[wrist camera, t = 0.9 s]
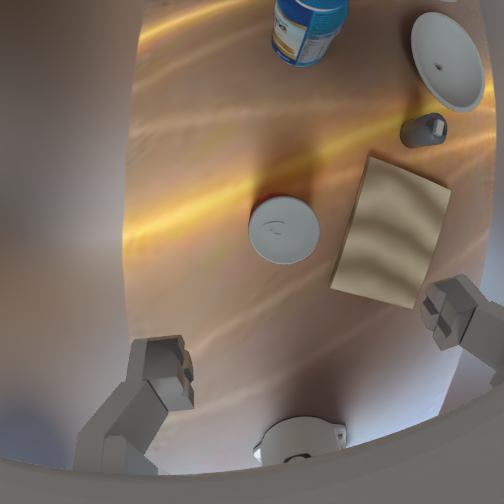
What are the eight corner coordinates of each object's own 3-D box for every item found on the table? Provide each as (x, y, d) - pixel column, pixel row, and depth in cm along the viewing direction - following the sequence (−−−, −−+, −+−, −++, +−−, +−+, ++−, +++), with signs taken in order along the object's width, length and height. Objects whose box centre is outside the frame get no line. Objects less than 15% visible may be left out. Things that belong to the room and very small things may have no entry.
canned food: (245, 197, 46) (242, 202, 35) (301, 188, 45) (315, 190, 35) (254, 250, 47) (254, 270, 36) (309, 240, 47) (324, 258, 36)
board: (408, 305, 49) (412, 309, 48) (328, 284, 48) (330, 288, 47) (446, 190, 45) (451, 190, 43) (367, 157, 44) (370, 156, 43)
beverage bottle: (320, 75, 42) (361, 14, 22) (264, 60, 41) (270, -11, 22) (331, 30, 40) (370, -41, 20) (277, 16, 39) (289, -64, 20)
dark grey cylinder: (422, 126, 43) (453, 118, 34) (417, 151, 44) (447, 147, 35) (403, 117, 43) (431, 107, 34) (397, 143, 44) (426, 137, 35)
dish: (390, 15, 39) (402, 3, 34) (458, 32, 38) (472, 23, 33) (405, 111, 42) (420, 105, 37) (474, 122, 42) (491, 118, 37)
